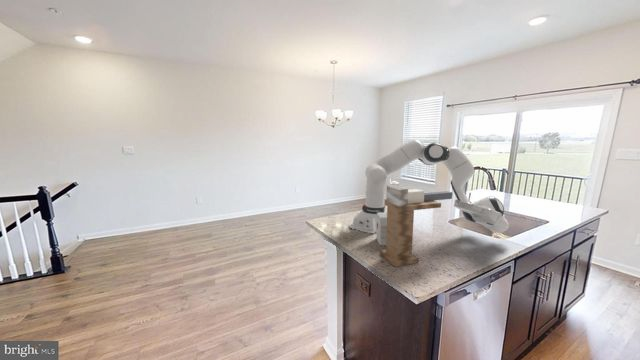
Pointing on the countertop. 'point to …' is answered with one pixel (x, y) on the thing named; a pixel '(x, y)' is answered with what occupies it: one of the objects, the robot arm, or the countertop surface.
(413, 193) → the grey and white bar
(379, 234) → the supplement box
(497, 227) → the robot arm
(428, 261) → the countertop surface
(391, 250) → the stand
